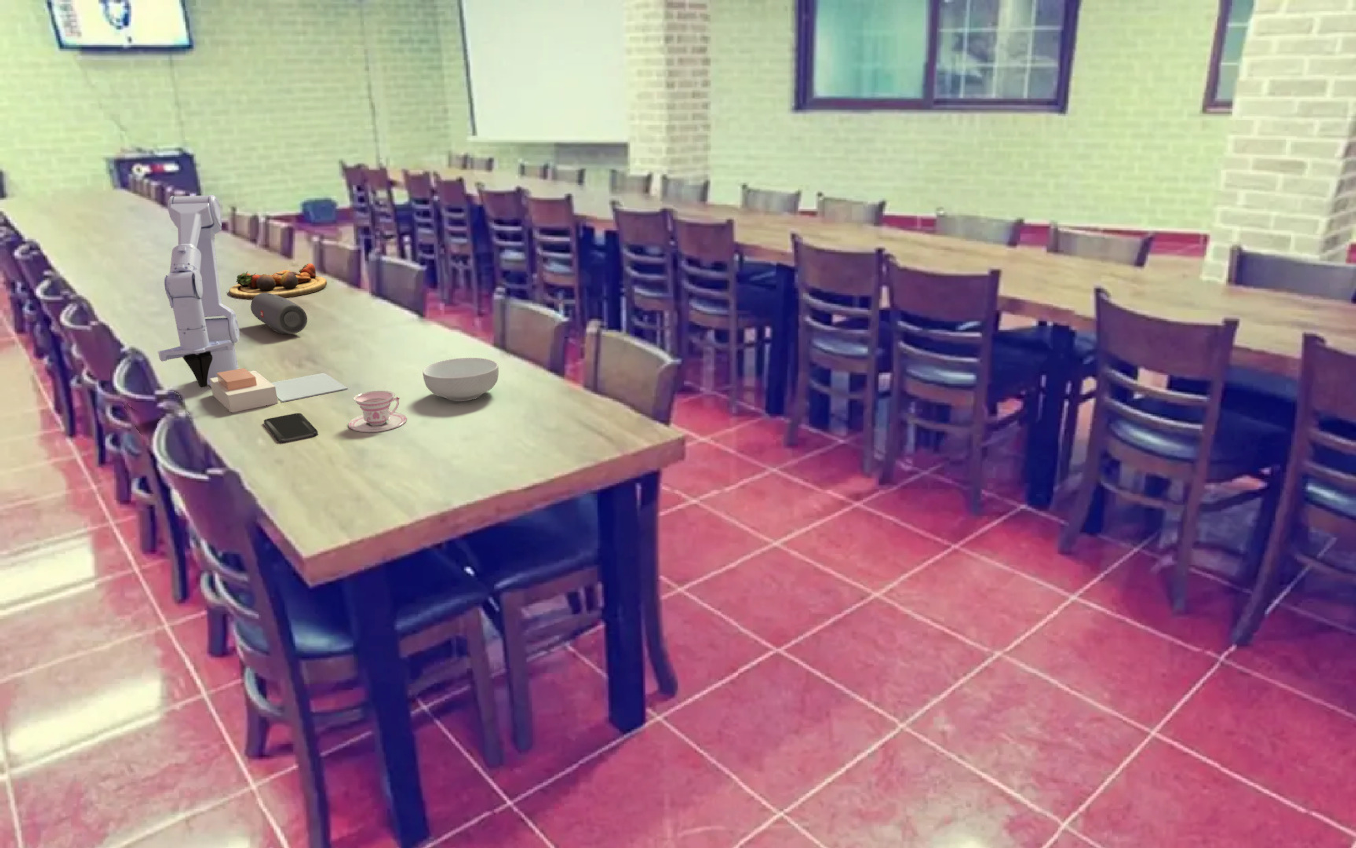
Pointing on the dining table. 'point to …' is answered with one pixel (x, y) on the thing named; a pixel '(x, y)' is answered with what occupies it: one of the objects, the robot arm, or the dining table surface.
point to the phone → (290, 427)
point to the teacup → (376, 412)
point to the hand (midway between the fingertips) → (203, 386)
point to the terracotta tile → (236, 379)
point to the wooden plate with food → (278, 283)
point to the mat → (306, 387)
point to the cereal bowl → (461, 378)
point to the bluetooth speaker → (279, 313)
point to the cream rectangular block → (245, 394)
